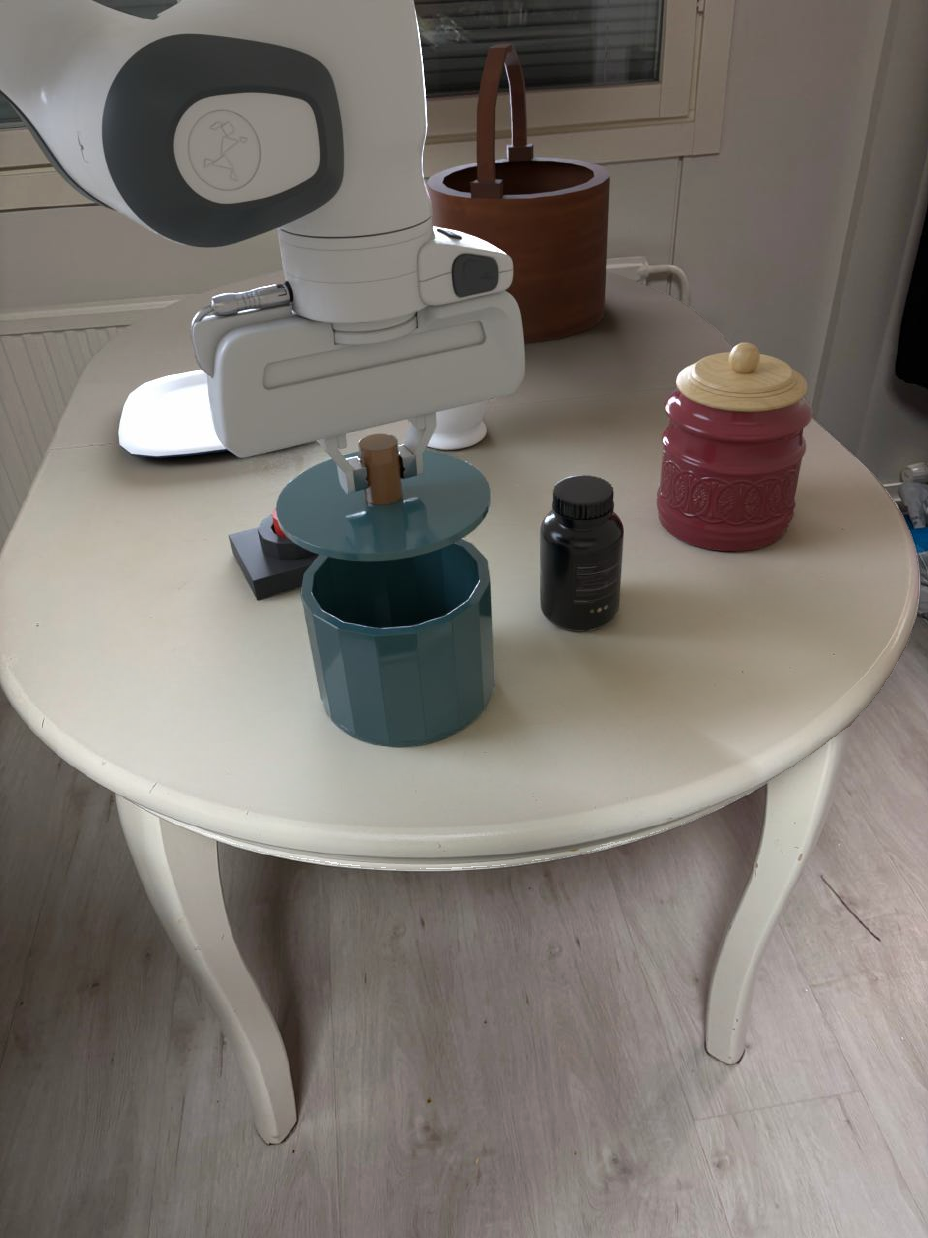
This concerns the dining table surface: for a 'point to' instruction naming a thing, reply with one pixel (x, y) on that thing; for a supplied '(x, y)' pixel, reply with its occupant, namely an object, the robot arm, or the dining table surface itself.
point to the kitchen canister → (733, 450)
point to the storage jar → (402, 643)
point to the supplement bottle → (581, 555)
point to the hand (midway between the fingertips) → (382, 480)
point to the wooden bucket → (531, 214)
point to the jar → (459, 427)
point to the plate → (169, 418)
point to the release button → (276, 525)
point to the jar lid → (384, 505)
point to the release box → (270, 560)
